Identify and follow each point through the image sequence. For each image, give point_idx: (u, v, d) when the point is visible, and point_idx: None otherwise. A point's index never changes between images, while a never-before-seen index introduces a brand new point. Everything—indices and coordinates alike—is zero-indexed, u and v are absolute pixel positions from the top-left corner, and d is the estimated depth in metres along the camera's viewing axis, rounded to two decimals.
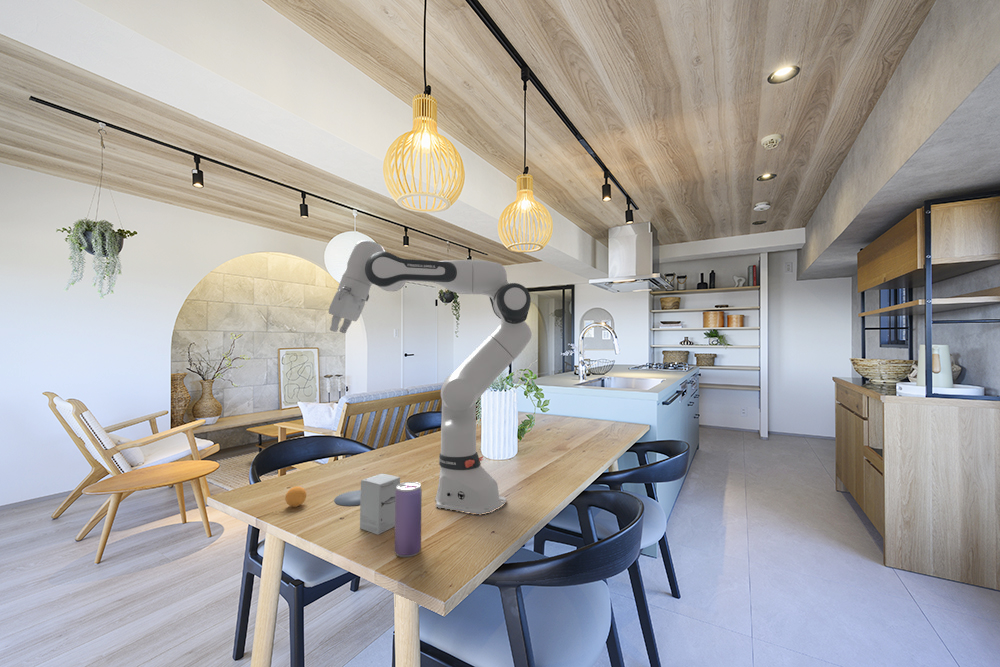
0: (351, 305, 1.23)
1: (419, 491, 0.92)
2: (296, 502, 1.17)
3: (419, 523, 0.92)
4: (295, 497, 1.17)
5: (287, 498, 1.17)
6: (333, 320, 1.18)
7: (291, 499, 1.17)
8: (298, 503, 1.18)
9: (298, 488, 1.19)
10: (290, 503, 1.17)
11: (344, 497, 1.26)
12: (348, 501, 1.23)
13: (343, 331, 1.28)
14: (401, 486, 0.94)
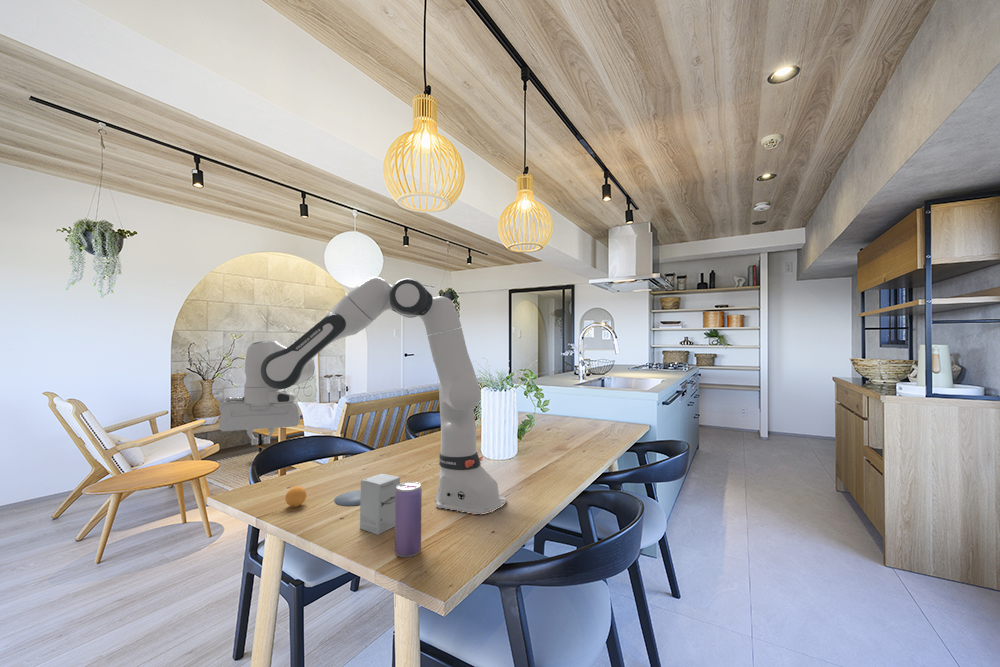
0: (253, 413, 1.15)
1: (419, 491, 0.92)
2: (296, 502, 1.17)
3: (419, 523, 0.92)
4: (295, 497, 1.17)
5: (287, 498, 1.17)
6: None
7: (291, 499, 1.17)
8: (298, 503, 1.18)
9: (298, 488, 1.19)
10: (290, 503, 1.17)
11: (344, 497, 1.26)
12: (348, 501, 1.23)
13: (264, 442, 1.17)
14: (401, 486, 0.94)
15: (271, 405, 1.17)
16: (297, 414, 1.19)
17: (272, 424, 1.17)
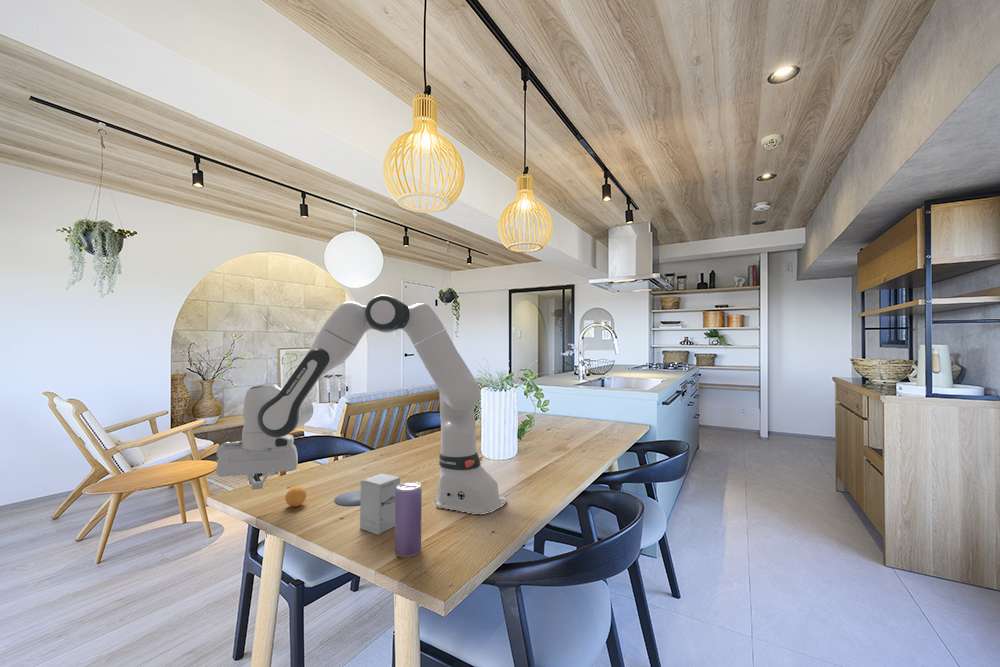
0: (251, 458, 1.14)
1: (419, 491, 0.92)
2: (296, 502, 1.17)
3: (419, 523, 0.92)
4: (295, 497, 1.17)
5: (287, 498, 1.17)
6: None
7: (291, 499, 1.17)
8: (298, 503, 1.18)
9: (298, 488, 1.19)
10: (290, 503, 1.17)
11: (344, 497, 1.26)
12: (348, 501, 1.23)
13: None
14: (401, 486, 0.94)
15: (269, 449, 1.16)
16: (295, 458, 1.18)
17: (269, 469, 1.16)
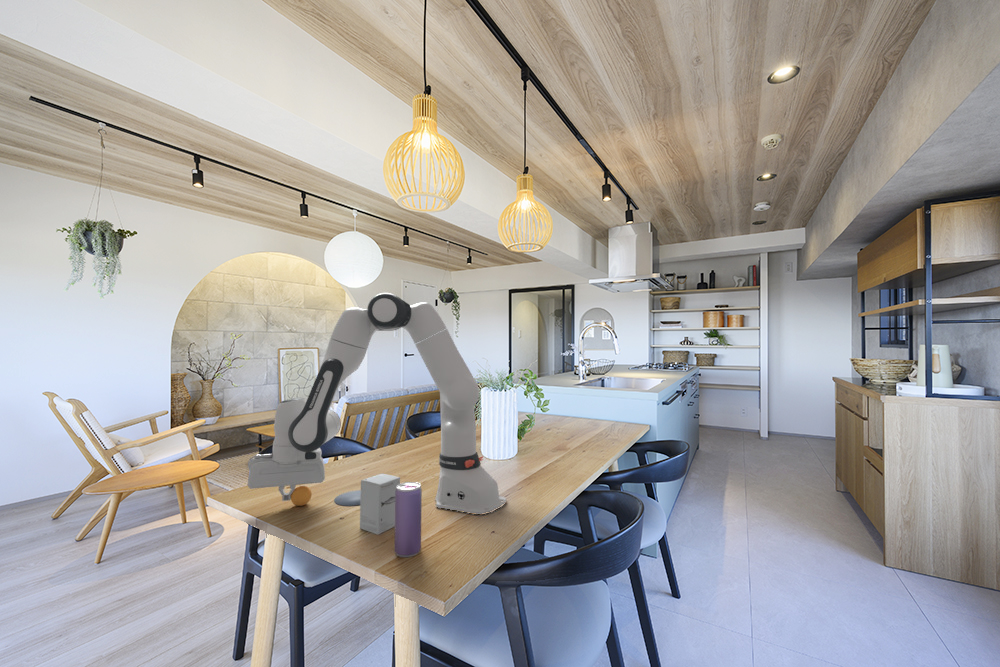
0: (281, 470, 1.17)
1: (419, 491, 0.92)
2: (300, 501, 1.18)
3: (419, 523, 0.92)
4: (301, 496, 1.18)
5: (294, 494, 1.18)
6: None
7: (297, 497, 1.18)
8: (301, 503, 1.18)
9: (307, 489, 1.20)
10: (294, 500, 1.18)
11: (344, 497, 1.26)
12: (348, 501, 1.23)
13: None
14: (401, 486, 0.94)
15: (298, 462, 1.19)
16: (323, 471, 1.21)
17: (298, 481, 1.18)
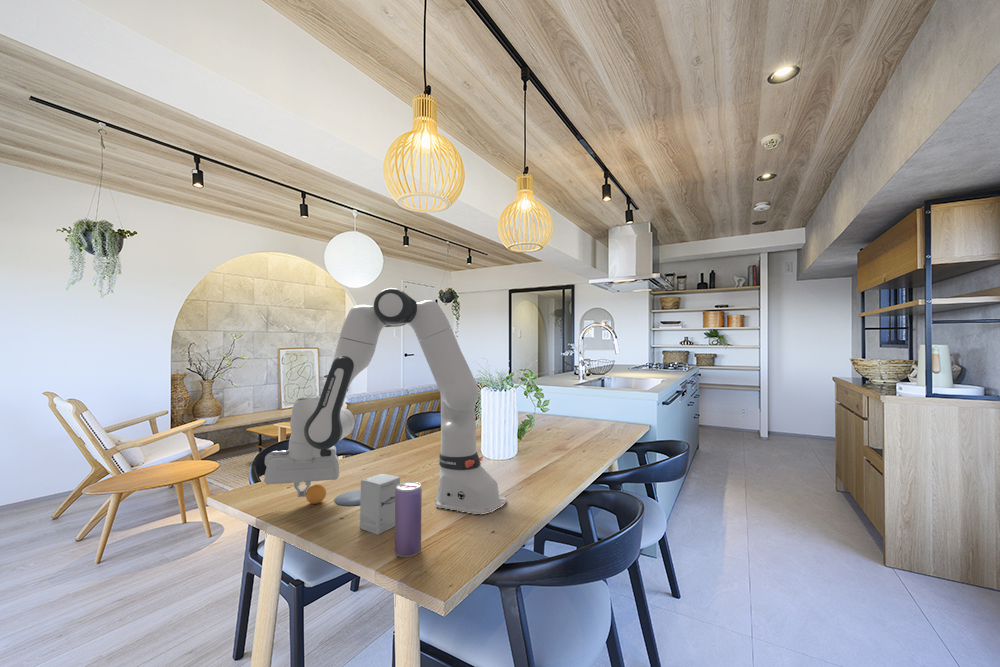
0: (297, 467, 1.19)
1: (419, 491, 0.92)
2: (314, 499, 1.19)
3: (419, 523, 0.92)
4: (316, 494, 1.20)
5: (310, 490, 1.20)
6: None
7: (312, 494, 1.19)
8: (313, 501, 1.20)
9: (323, 489, 1.22)
10: (309, 496, 1.19)
11: (344, 497, 1.26)
12: (348, 501, 1.23)
13: None
14: (401, 486, 0.94)
15: (314, 459, 1.20)
16: (337, 468, 1.23)
17: (314, 478, 1.20)
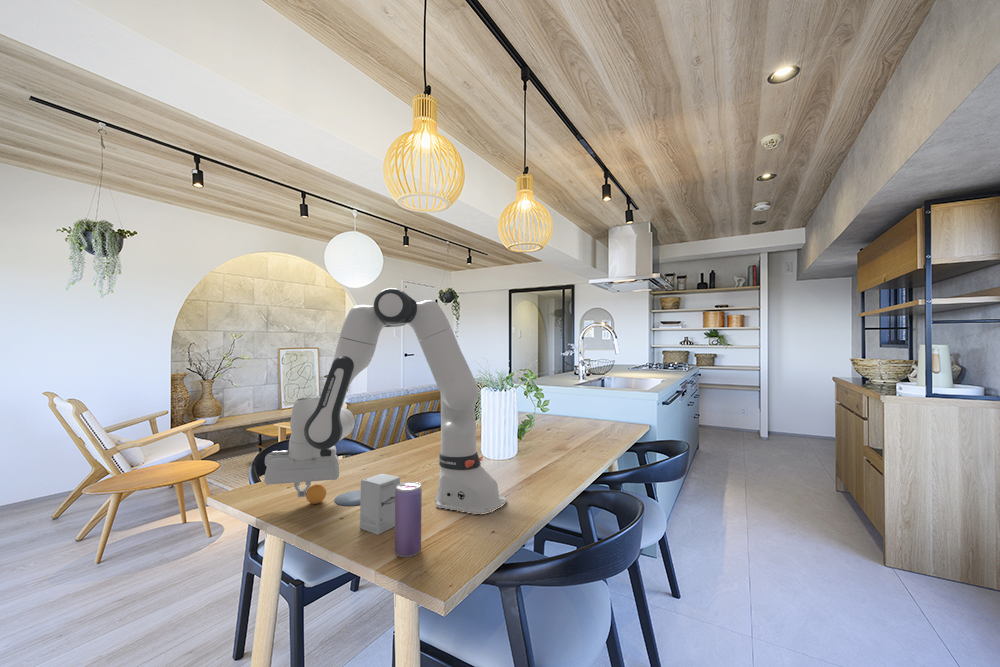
0: (297, 467, 1.19)
1: (419, 491, 0.92)
2: (314, 499, 1.19)
3: (419, 523, 0.92)
4: (316, 494, 1.20)
5: (310, 490, 1.20)
6: None
7: (313, 494, 1.19)
8: (314, 501, 1.20)
9: (324, 489, 1.22)
10: (309, 496, 1.19)
11: (344, 497, 1.26)
12: (348, 501, 1.23)
13: None
14: (401, 486, 0.94)
15: (314, 459, 1.20)
16: (337, 468, 1.23)
17: (314, 478, 1.20)
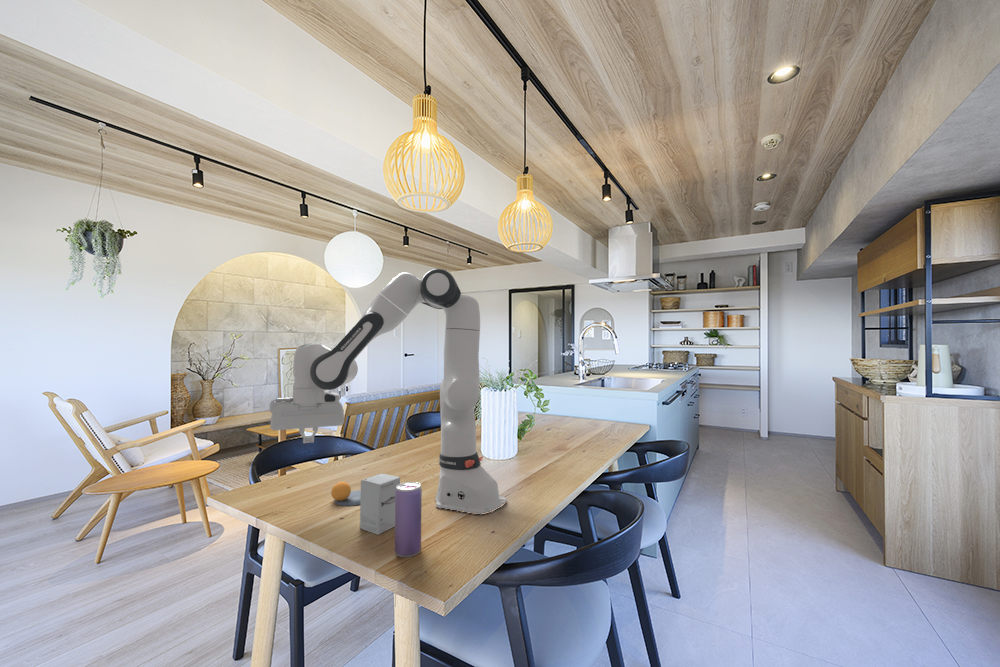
0: (302, 413, 1.20)
1: (419, 491, 0.92)
2: (339, 492, 1.21)
3: (419, 523, 0.92)
4: (340, 497, 1.22)
5: (347, 494, 1.23)
6: None
7: (343, 495, 1.22)
8: (338, 489, 1.22)
9: (337, 500, 1.23)
10: (345, 490, 1.22)
11: None
12: (348, 501, 1.23)
13: (308, 441, 1.21)
14: (401, 486, 0.94)
15: (318, 405, 1.21)
16: (342, 413, 1.24)
17: (319, 423, 1.21)
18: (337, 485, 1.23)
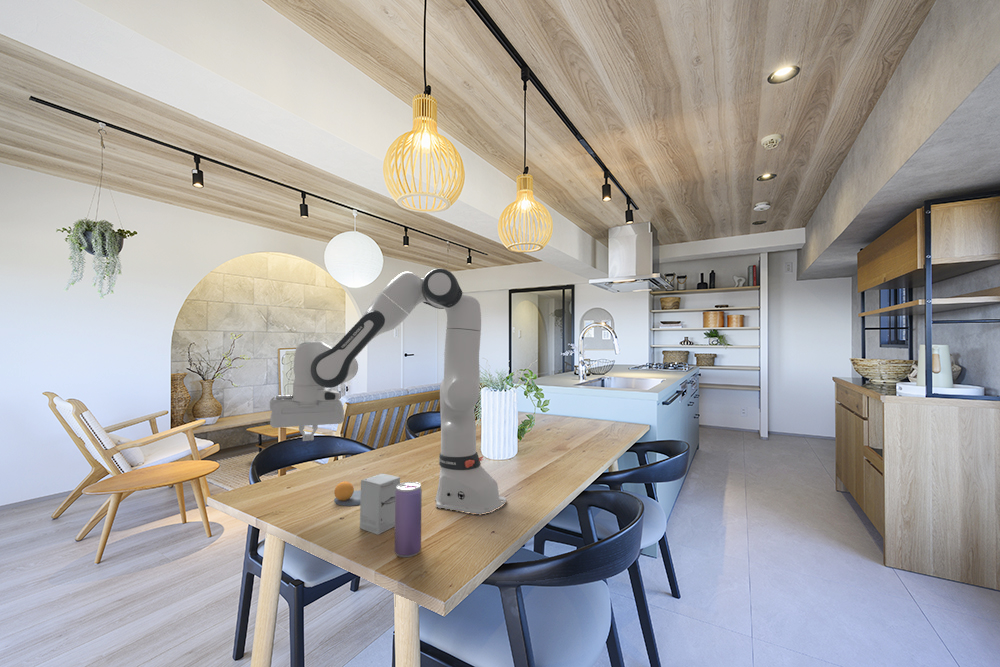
0: (302, 411, 1.20)
1: (419, 491, 0.92)
2: (342, 491, 1.22)
3: (419, 523, 0.92)
4: (342, 496, 1.22)
5: (349, 496, 1.23)
6: None
7: (346, 495, 1.22)
8: (342, 488, 1.22)
9: (338, 499, 1.23)
10: (348, 491, 1.23)
11: None
12: (348, 501, 1.23)
13: None
14: (401, 486, 0.94)
15: (318, 403, 1.21)
16: (342, 412, 1.24)
17: (319, 421, 1.21)
18: (343, 484, 1.23)
